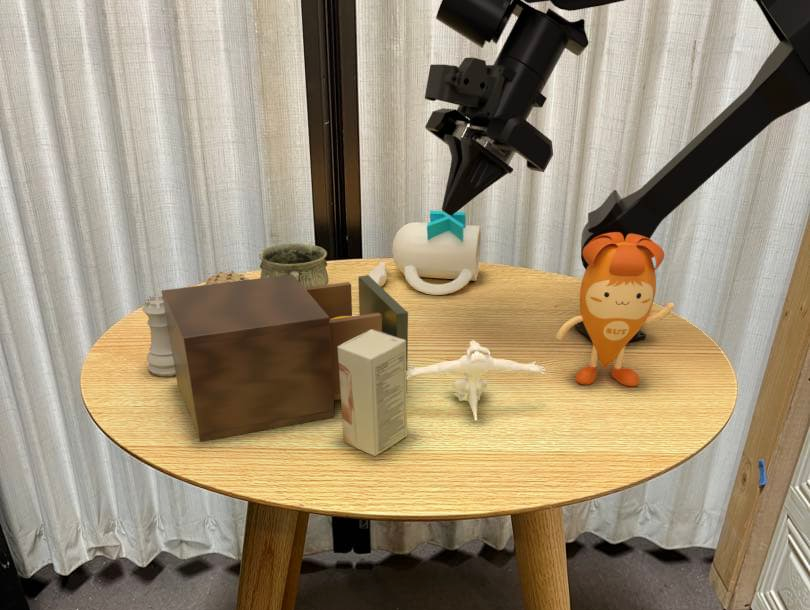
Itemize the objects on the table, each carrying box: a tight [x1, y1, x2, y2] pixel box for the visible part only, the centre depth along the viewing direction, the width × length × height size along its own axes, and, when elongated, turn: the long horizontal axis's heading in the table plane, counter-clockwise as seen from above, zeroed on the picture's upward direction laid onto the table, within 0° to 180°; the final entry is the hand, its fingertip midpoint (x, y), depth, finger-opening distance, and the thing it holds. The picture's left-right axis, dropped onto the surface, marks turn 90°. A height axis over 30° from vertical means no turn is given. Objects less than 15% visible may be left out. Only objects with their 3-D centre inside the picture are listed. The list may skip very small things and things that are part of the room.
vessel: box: [258, 242, 329, 288], centre depth 107 cm, size 12×9×6 cm
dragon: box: [406, 339, 548, 421], centre depth 83 cm, size 15×7×8 cm, turn 96°
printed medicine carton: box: [338, 330, 408, 457], centre depth 77 cm, size 5×4×10 cm
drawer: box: [305, 274, 409, 401], centre depth 86 cm, size 14×11×9 cm
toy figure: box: [555, 232, 675, 387], centre depth 88 cm, size 12×8×15 cm
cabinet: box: [161, 274, 335, 442], centre depth 83 cm, size 14×13×11 cm
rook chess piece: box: [142, 294, 176, 377], centre depth 90 cm, size 4×4×8 cm
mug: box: [391, 210, 482, 296], centre depth 113 cm, size 12×9×12 cm
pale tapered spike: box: [367, 261, 388, 288], centre depth 112 cm, size 15×3×2 cm, turn 172°
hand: (446, 213), depth 89 cm, fingers closed
